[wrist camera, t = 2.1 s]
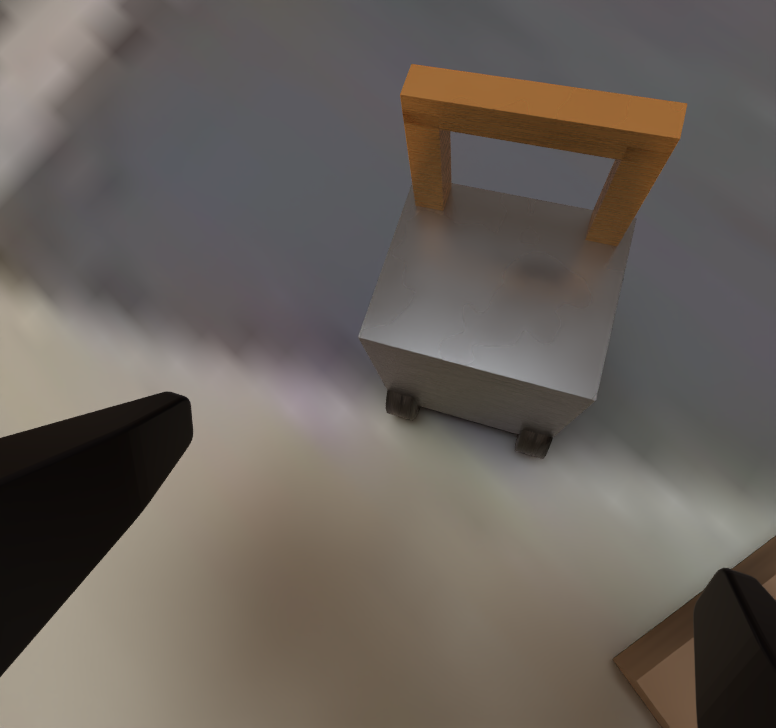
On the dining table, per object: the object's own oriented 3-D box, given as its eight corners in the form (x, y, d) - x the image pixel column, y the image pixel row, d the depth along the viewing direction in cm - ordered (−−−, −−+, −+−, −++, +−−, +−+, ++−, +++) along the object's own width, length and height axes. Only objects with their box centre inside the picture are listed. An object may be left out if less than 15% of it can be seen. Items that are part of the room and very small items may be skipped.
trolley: (537, 463, 20) (649, 382, 8) (391, 419, 21) (308, 295, 9) (572, 319, 21) (710, 76, 10) (434, 286, 23) (408, 36, 11)
